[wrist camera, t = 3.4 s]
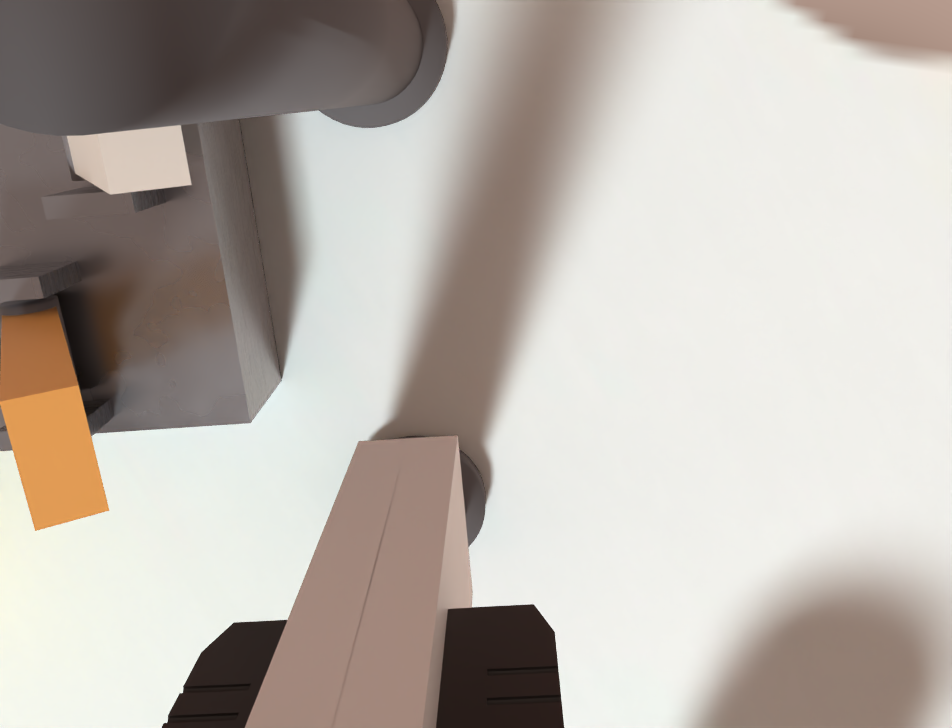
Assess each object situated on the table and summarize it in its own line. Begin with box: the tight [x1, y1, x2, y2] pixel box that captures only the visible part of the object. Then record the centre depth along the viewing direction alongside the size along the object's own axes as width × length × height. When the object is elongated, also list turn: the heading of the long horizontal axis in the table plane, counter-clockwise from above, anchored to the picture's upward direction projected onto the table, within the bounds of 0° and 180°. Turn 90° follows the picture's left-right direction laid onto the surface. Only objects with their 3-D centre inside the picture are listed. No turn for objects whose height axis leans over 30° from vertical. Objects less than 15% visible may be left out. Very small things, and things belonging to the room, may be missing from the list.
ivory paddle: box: [62, 125, 192, 195], centre depth 19 cm, size 2×3×10 cm, turn 4°
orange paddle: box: [0, 295, 109, 531], centre depth 21 cm, size 2×3×10 cm, turn 4°
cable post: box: [0, 0, 447, 136], centre depth 17 cm, size 5×5×20 cm
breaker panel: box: [0, 119, 282, 451], centre depth 25 cm, size 11×12×6 cm
